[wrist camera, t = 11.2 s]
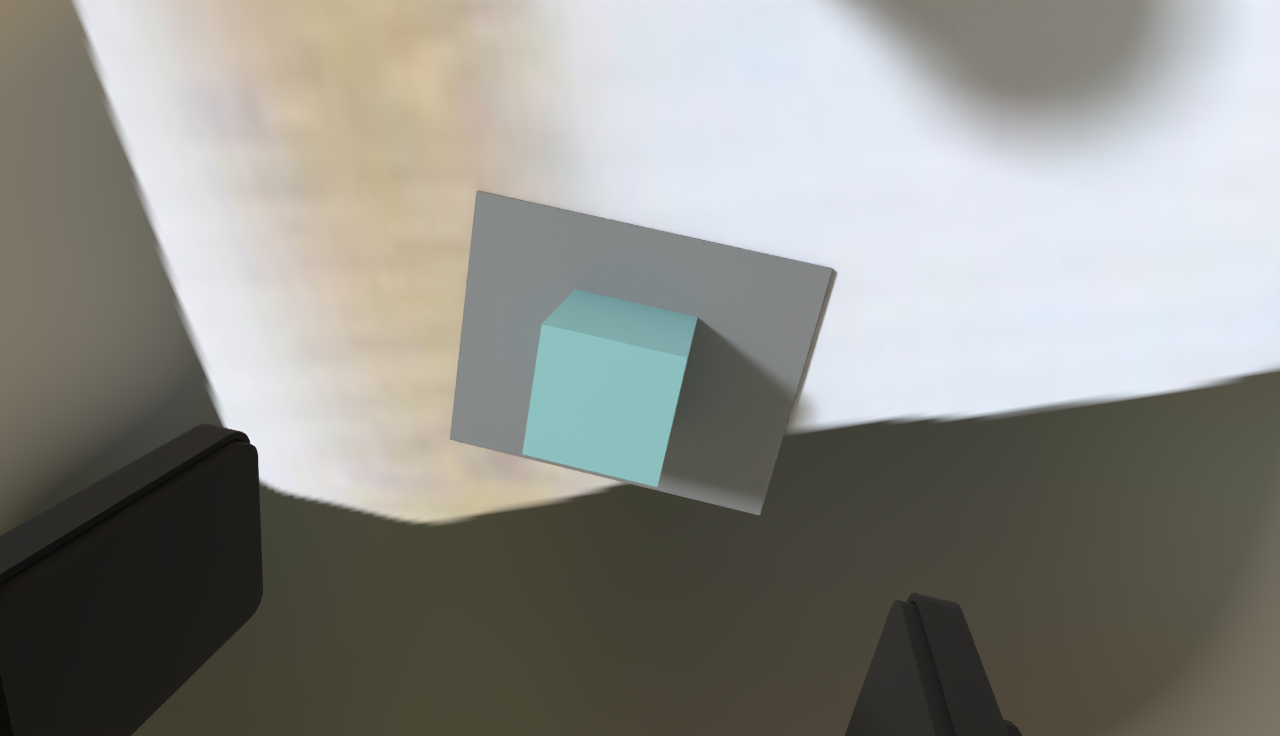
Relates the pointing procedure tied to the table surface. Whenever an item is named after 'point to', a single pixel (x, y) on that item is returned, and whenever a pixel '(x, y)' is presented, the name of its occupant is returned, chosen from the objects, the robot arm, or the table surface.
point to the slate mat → (654, 276)
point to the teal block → (608, 386)
